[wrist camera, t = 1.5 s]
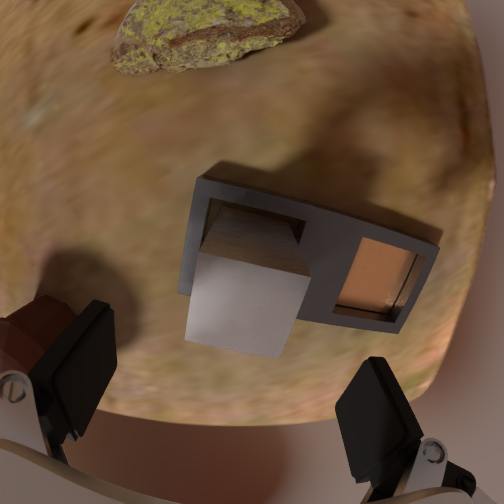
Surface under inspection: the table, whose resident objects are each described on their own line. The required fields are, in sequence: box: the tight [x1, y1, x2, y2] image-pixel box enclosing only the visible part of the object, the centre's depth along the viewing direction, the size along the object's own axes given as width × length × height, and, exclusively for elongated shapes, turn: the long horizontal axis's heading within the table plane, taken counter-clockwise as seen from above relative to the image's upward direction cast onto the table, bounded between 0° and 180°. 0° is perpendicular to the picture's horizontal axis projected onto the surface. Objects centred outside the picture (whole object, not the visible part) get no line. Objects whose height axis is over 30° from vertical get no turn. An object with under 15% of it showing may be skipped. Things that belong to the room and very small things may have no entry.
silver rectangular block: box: [185, 207, 312, 359], centre depth 15 cm, size 4×4×8 cm
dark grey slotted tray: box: [178, 175, 440, 334], centre depth 18 cm, size 8×18×2 cm, turn 76°
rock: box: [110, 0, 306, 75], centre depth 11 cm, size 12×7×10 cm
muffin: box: [0, 295, 77, 375], centre depth 18 cm, size 12×11×10 cm
